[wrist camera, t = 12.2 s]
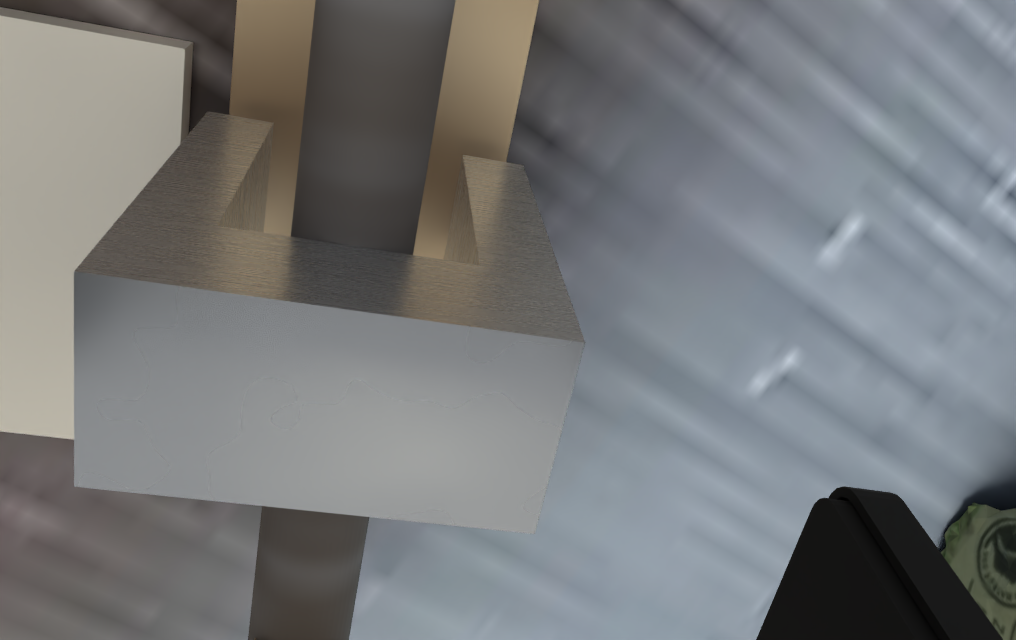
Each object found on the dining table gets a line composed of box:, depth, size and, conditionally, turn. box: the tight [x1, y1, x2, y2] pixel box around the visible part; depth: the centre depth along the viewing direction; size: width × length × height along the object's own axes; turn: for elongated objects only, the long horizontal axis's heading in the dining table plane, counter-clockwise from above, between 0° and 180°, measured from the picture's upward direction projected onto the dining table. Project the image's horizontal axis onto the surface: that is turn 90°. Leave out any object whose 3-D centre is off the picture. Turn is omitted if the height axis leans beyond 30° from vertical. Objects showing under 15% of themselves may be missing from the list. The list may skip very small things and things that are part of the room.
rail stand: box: [229, 0, 539, 640], centre depth 17 cm, size 18×6×10 cm, turn 169°
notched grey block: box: [74, 111, 585, 534], centre depth 15 cm, size 6×3×8 cm, turn 79°
